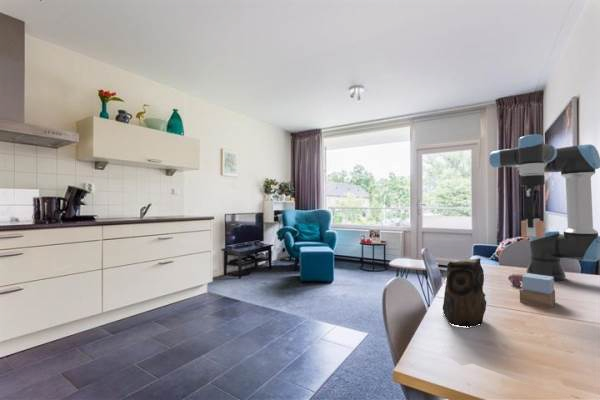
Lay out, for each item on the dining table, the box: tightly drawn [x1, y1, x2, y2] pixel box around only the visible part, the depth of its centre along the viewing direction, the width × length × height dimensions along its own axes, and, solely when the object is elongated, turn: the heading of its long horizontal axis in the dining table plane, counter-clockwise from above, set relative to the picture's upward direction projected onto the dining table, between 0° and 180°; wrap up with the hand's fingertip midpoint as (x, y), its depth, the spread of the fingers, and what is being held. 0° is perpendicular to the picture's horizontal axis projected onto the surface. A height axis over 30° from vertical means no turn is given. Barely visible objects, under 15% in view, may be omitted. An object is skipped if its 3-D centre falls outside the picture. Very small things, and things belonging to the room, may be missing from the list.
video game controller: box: [507, 273, 524, 287], centre depth 128 cm, size 10×5×7 cm, turn 25°
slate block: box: [521, 272, 555, 294], centre depth 107 cm, size 8×8×5 cm
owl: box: [442, 257, 487, 327], centre depth 90 cm, size 13×13×20 cm
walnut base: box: [519, 287, 556, 309], centre depth 107 cm, size 9×9×5 cm
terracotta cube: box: [520, 220, 546, 238], centre depth 109 cm, size 6×6×6 cm
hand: (533, 235), depth 109 cm, fingers closed on terracotta cube, 6 cm apart
